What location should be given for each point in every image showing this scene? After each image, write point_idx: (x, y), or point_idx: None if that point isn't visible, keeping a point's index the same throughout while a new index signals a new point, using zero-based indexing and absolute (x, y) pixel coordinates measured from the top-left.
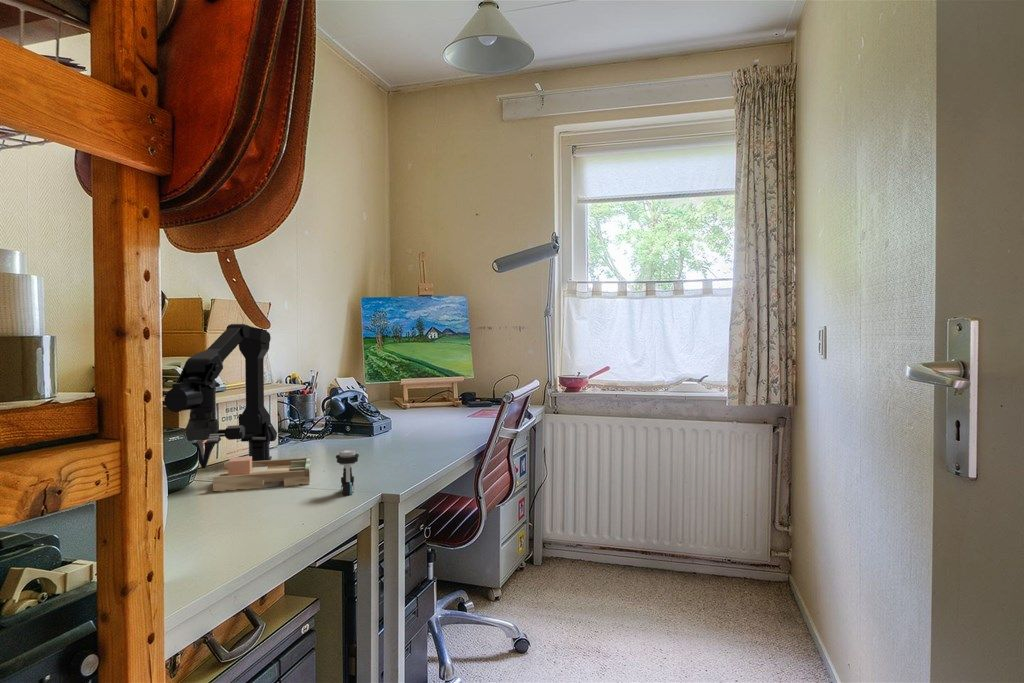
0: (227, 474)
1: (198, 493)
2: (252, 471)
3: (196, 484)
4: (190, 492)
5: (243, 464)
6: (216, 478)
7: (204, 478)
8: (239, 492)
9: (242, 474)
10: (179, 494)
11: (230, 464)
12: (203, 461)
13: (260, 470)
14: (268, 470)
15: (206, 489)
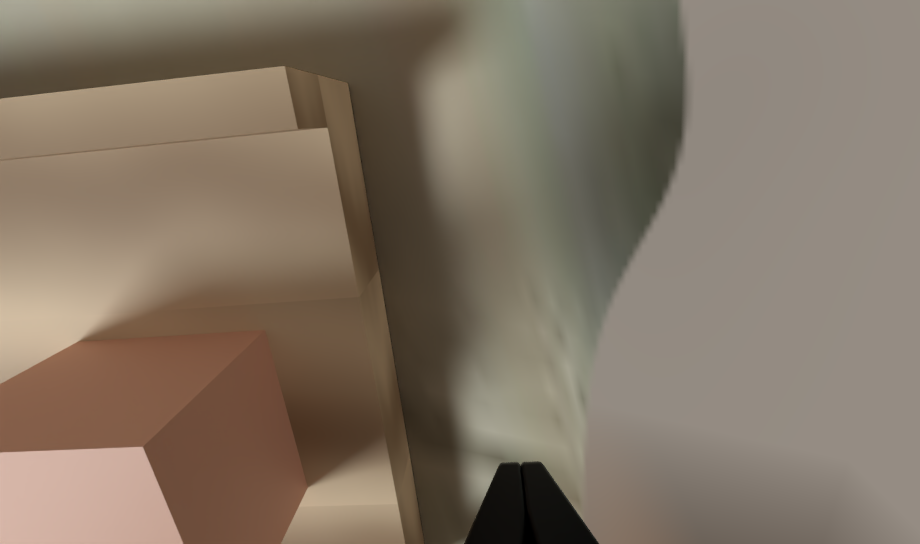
0: (319, 440)
1: (479, 66)
2: None
3: (575, 391)
4: (566, 127)
5: (2, 416)
6: (250, 73)
7: None
8: (83, 8)
9: (124, 348)
10: (659, 69)
11: (145, 418)
12: (521, 524)
13: None
14: None
15: (445, 206)
